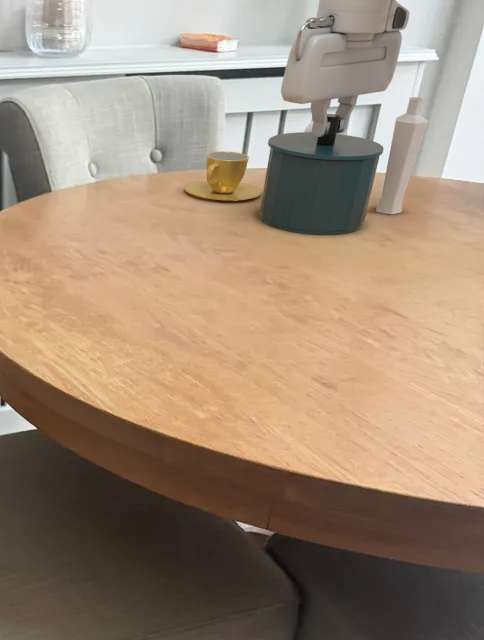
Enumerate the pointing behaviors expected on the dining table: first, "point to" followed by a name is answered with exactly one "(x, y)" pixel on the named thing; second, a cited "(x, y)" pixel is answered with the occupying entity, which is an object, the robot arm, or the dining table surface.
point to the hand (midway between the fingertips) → (327, 134)
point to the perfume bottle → (402, 156)
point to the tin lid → (326, 144)
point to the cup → (224, 178)
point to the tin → (316, 193)
